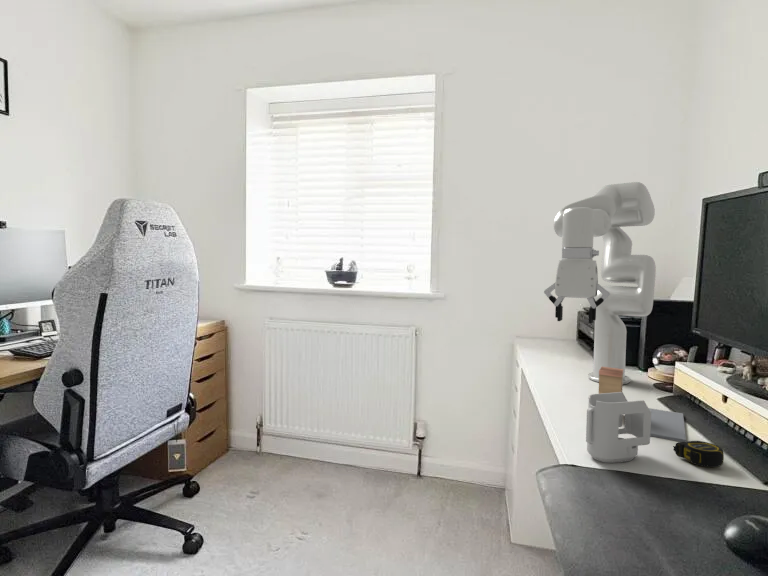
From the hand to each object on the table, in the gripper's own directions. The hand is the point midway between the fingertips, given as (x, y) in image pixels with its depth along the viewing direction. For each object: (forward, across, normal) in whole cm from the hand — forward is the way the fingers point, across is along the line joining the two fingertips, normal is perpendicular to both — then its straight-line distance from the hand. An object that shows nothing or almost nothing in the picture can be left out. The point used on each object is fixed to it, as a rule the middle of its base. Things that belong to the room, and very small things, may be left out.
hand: (575, 321), depth 118 cm
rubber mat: (+24, -19, 0) cm, 31 cm away
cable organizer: (+24, -13, +26) cm, 38 cm away
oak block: (+24, -9, 0) cm, 26 cm away
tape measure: (+24, -27, +20) cm, 41 cm away
